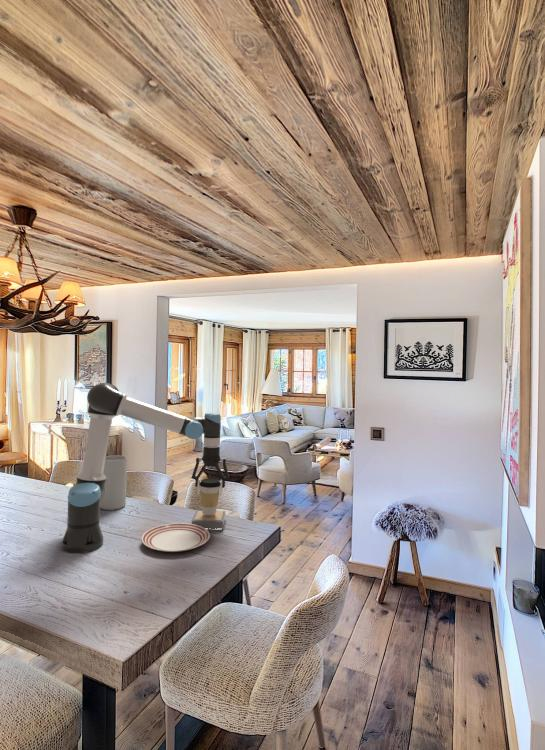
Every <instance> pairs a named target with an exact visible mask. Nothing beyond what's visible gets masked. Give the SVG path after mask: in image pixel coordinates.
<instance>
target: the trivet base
mask: <svg viewBox="0 0 545 750" xmlns="http://www.w3.org/2000/svg"><path fill="white" fill-rule="evenodd" d="M224 521H225V522H226V510H225V511H224V510H216V514H214V515H204V514H203V513H202V510H196V511H195V513H194V514H193V518H192V520H191V524H195V525H199V526H201V527H203V528H208V529H209V528H211V529H215V528H216V529H217V528H222V529H223V530H224V527H223V525H224V526H225V523H224Z"/></svg>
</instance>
